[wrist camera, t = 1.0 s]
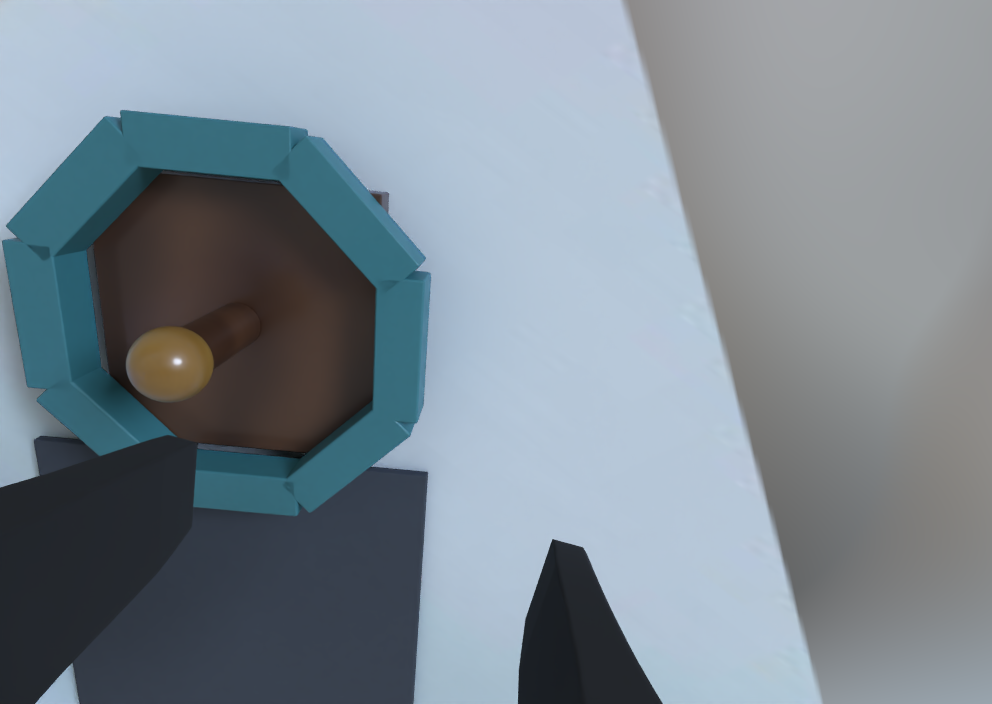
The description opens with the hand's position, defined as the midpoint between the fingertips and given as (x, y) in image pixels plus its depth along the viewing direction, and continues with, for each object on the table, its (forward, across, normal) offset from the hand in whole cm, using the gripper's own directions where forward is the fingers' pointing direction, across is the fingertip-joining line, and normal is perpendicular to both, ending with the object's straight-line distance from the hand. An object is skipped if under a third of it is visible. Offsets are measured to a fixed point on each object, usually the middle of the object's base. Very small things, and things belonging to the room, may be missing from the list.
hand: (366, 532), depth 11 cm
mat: (+10, +7, +15) cm, 19 cm away
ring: (+9, +8, +1) cm, 12 cm away
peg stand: (+11, +8, +1) cm, 13 cm away
